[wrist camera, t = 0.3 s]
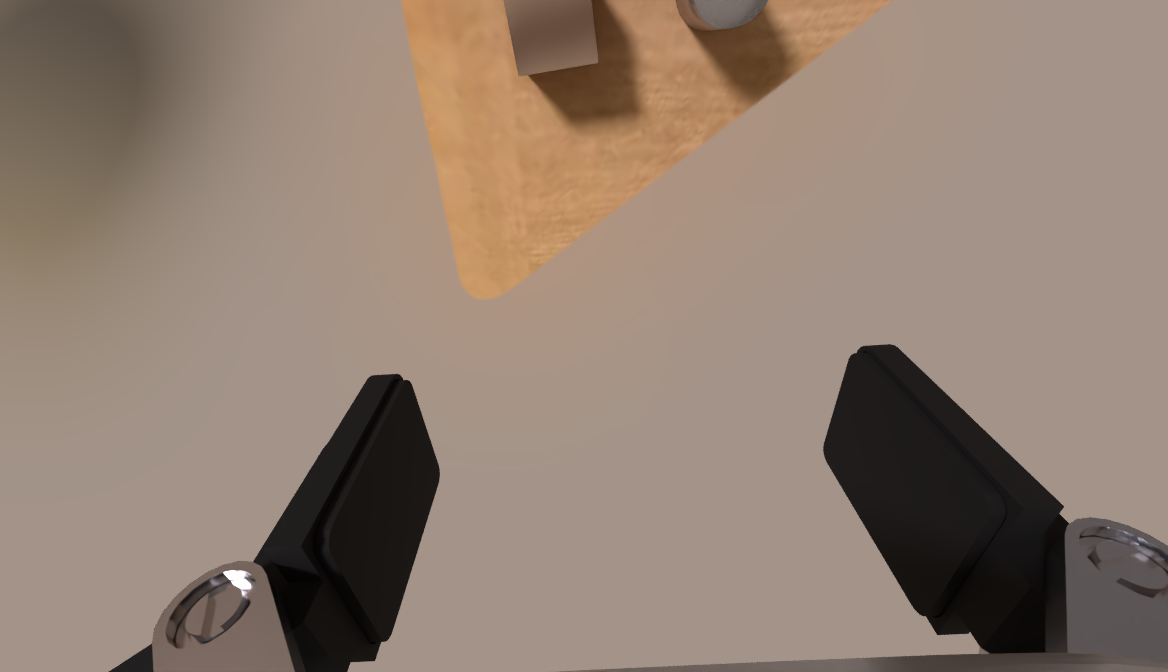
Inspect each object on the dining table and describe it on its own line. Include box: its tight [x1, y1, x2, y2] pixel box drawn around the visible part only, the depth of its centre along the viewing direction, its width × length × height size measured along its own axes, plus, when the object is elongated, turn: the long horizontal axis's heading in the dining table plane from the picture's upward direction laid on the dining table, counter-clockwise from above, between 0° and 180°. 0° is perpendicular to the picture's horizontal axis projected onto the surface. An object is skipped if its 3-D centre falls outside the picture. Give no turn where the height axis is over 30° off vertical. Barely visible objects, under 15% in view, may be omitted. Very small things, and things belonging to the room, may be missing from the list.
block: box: [504, 0, 599, 76], centre depth 30 cm, size 5×5×5 cm
